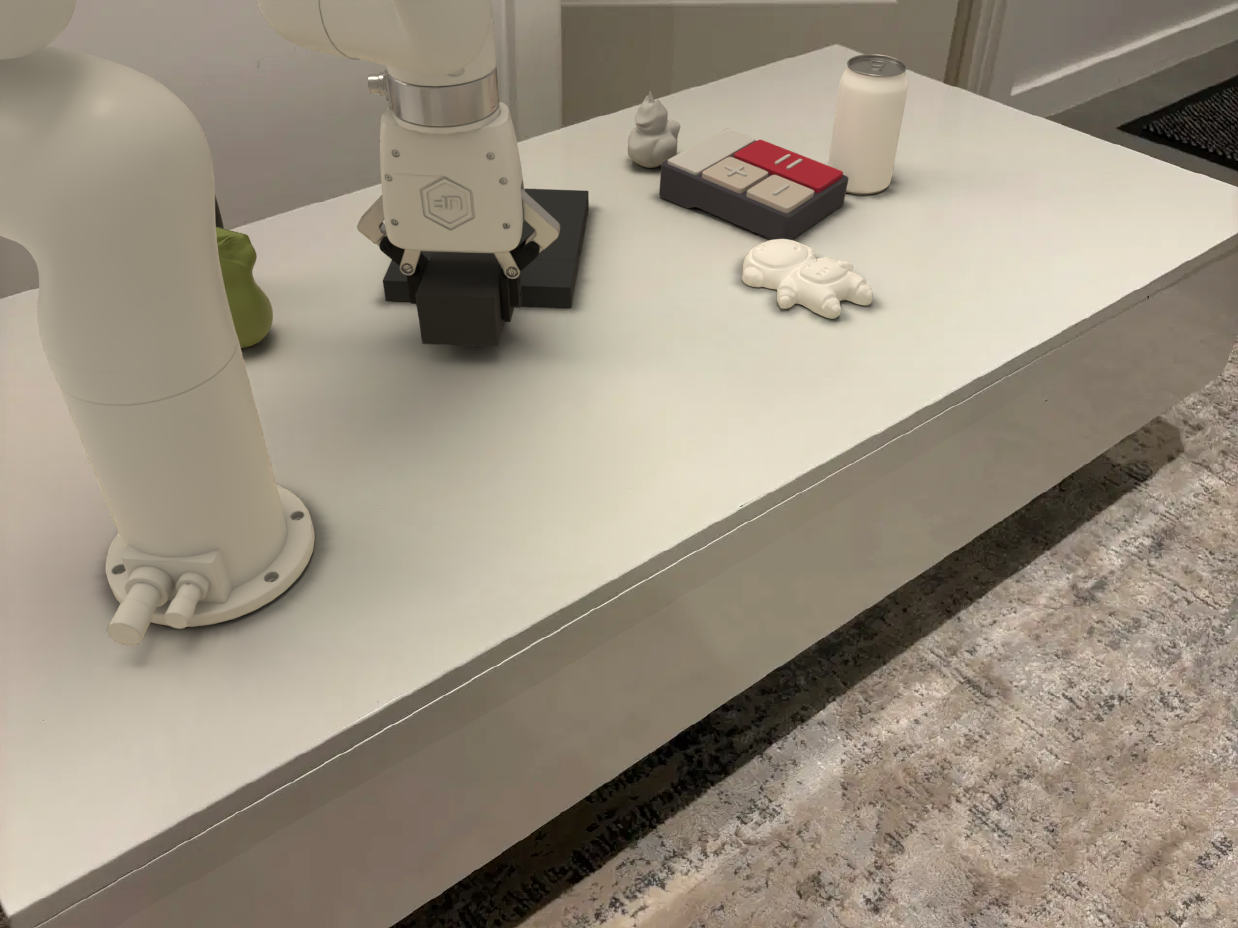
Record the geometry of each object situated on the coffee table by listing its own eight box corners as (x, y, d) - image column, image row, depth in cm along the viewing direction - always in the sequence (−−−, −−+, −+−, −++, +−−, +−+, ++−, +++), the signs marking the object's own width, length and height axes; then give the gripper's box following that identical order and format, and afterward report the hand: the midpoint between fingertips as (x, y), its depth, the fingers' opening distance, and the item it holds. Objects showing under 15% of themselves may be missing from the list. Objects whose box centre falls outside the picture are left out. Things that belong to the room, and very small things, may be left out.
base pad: (571, 308, 92) (570, 287, 91) (385, 300, 93) (382, 280, 92) (588, 209, 106) (588, 190, 105) (426, 203, 107) (424, 184, 105)
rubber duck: (613, 163, 114) (614, 88, 109) (658, 145, 117) (661, 72, 112) (649, 180, 111) (651, 104, 106) (694, 162, 114) (698, 87, 109)
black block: (498, 347, 85) (493, 297, 82) (422, 344, 85) (415, 295, 82) (518, 267, 94) (515, 220, 91) (449, 265, 94) (444, 218, 91)
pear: (194, 350, 87) (161, 238, 80) (238, 317, 91) (209, 208, 84) (251, 367, 85) (221, 254, 79) (292, 333, 89) (268, 223, 82)
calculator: (790, 210, 98) (660, 156, 105) (783, 251, 101) (656, 196, 108) (852, 169, 105) (726, 120, 111) (843, 209, 107) (721, 159, 114)
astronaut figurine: (809, 331, 90) (814, 300, 88) (722, 268, 97) (724, 238, 95) (887, 301, 93) (893, 270, 91) (797, 243, 101) (801, 213, 99)
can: (821, 190, 109) (837, 72, 101) (832, 164, 114) (848, 49, 106) (885, 200, 108) (907, 81, 100) (894, 173, 112) (915, 57, 105)
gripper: (307, 111, 73) (350, 333, 85) (562, 118, 72) (569, 341, 84) (336, 69, 79) (372, 283, 91) (572, 75, 78) (578, 290, 90)
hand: (467, 309), depth 87 cm, fingers closed on black block, 6 cm apart
